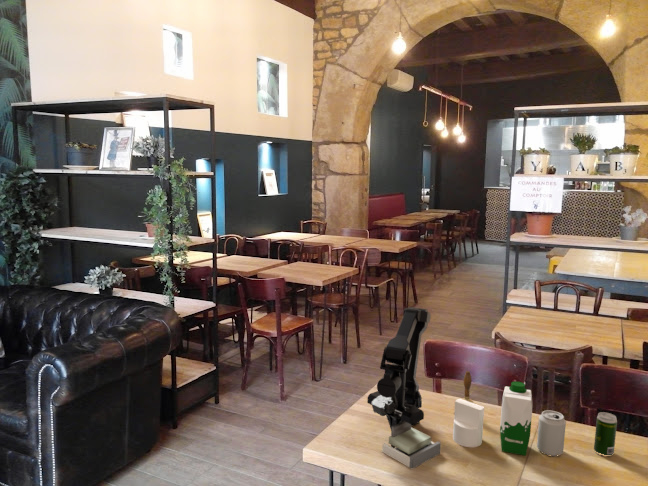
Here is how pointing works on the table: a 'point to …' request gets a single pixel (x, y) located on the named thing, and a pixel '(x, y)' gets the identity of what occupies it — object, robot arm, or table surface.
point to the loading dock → (413, 454)
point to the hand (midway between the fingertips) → (393, 432)
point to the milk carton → (516, 418)
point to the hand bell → (467, 386)
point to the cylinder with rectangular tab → (468, 423)
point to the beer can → (605, 433)
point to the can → (551, 433)
